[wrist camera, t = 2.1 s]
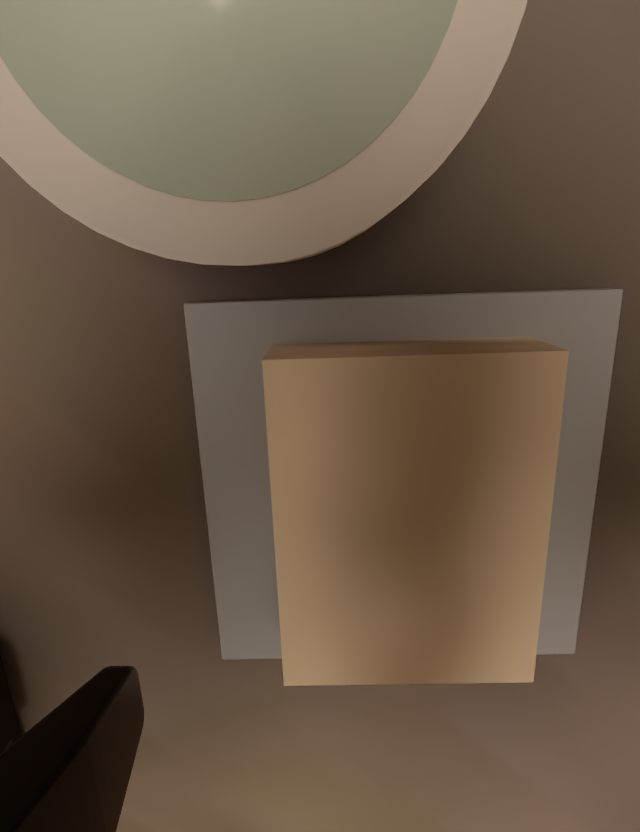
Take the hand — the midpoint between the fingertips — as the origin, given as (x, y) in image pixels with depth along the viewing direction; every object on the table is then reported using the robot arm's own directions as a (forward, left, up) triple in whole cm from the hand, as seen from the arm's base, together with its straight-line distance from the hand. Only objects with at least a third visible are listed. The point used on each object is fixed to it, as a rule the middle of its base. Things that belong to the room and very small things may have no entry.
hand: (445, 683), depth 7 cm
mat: (0, 0, -7) cm, 7 cm away
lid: (0, 0, -6) cm, 6 cm away
